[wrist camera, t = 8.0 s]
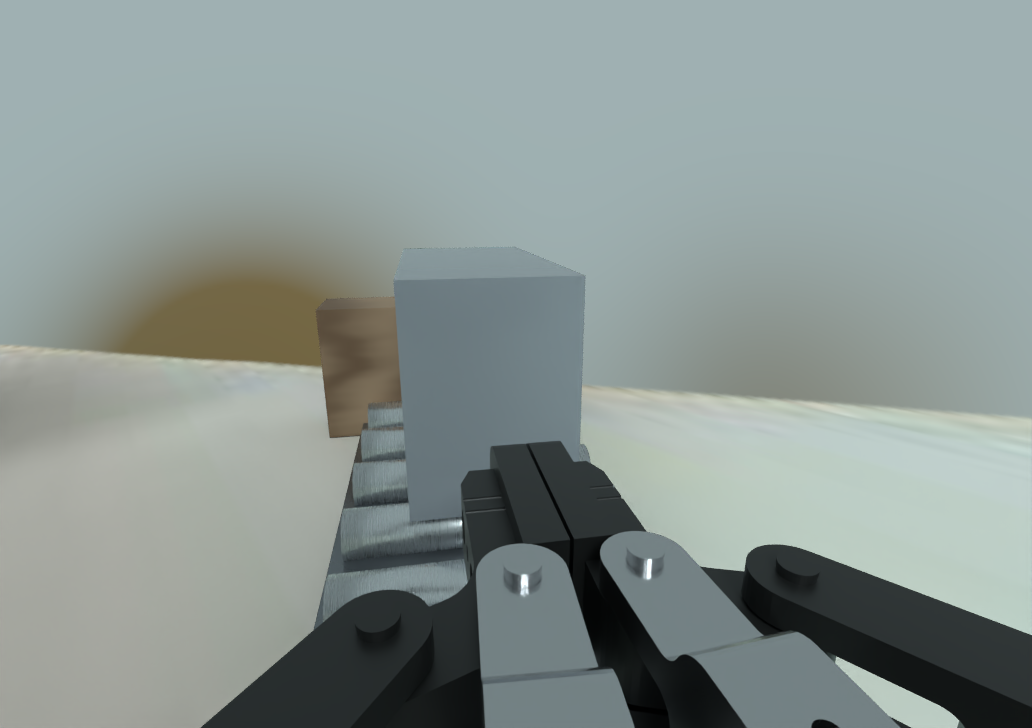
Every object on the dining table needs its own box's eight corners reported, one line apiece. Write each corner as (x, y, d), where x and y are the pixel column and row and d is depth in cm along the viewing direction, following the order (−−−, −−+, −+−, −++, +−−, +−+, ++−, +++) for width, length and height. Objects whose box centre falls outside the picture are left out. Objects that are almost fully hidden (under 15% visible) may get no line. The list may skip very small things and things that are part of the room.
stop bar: (329, 437, 33) (315, 310, 31) (338, 413, 37) (326, 298, 35) (578, 419, 36) (582, 300, 33) (563, 398, 40) (565, 291, 37)
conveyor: (269, 858, 12) (253, 777, 11) (364, 434, 33) (361, 398, 33) (764, 759, 14) (777, 686, 13) (550, 421, 35) (551, 386, 35)
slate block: (577, 504, 21) (585, 275, 18) (410, 521, 20) (393, 280, 17) (515, 389, 34) (515, 246, 32) (413, 396, 33) (403, 248, 31)
